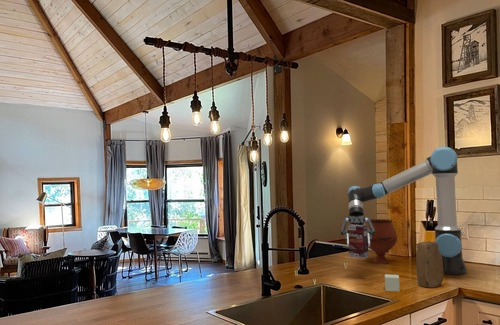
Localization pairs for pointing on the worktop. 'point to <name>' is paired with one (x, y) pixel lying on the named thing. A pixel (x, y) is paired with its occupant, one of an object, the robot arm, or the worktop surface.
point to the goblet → (382, 238)
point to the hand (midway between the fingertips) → (358, 245)
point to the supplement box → (358, 241)
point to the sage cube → (392, 283)
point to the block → (429, 264)
